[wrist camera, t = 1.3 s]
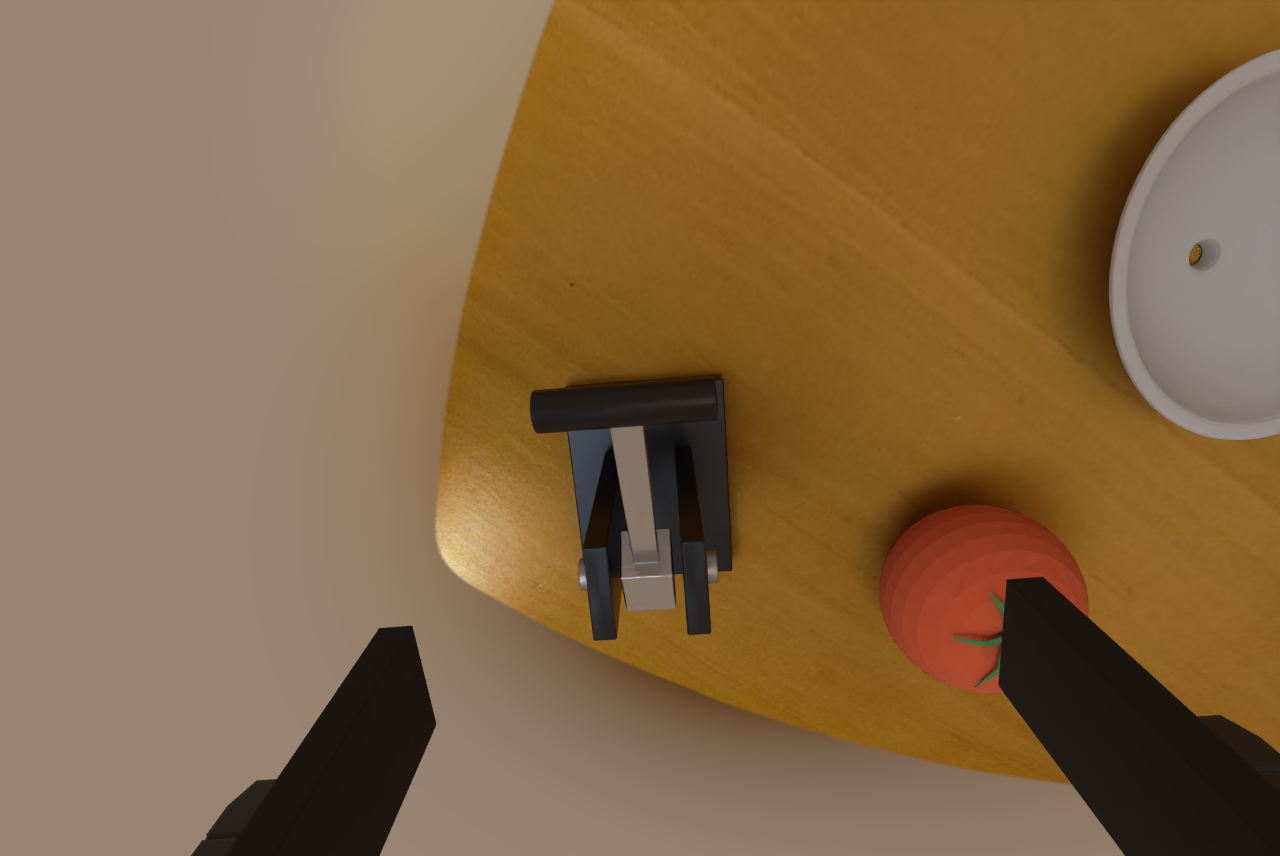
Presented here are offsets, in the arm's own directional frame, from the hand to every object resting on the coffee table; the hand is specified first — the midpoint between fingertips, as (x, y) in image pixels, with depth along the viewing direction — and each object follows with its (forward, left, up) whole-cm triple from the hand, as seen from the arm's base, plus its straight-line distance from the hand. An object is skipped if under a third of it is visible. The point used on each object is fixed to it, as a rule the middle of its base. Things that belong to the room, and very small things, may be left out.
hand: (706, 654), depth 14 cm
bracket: (+5, -2, -24) cm, 24 cm away
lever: (+1, -2, -12) cm, 12 cm away
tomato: (+12, +16, -24) cm, 31 cm away
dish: (-5, +28, -24) cm, 37 cm away
